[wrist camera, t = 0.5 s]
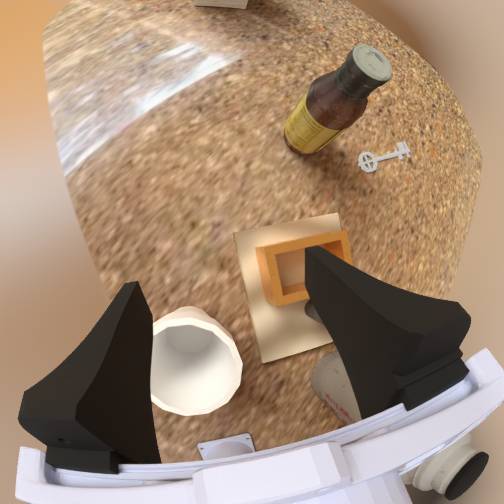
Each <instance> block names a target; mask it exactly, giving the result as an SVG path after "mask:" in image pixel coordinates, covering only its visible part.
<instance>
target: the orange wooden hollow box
mask: <svg viewBox="0 0 504 504" xmlns="http://www.w3.org/2000/svg"><path fill="white" fill-rule="evenodd" d="M320 244H324V249H326V250H327V251H329V252H330V253H332V254H334V255H335V256H337V257H339V258H340V259H342V260H343V261H345V262H347V263H348V264H350V265H352V266H353V262H352V256H351V250H350V245H349V239H348V234H347V229H346V230H339V231H331V232H325V233H321V234H316V235H311V236H307V237H302V238H297V239H292V240H288V241H283V242H278V243H273V244H269V245H264V246H259V247H255V252H256V257H257V262H258V267H259V272H260V277H261V282H262V286H263V291H264V296H265V300H267V301H268V302H270V303H271V304H272V305H274V306H275V307H278V306H282V305H286V304H289V303H293V302H297V301H300V300H304V299H308V298H310V297H309V295H308V292H307V290H306V287H305V281H304V282H300V283H296V284H292V285H288V286H284V287H281V283H280V277H279V272H278V267H277V262H276V257H275V254H279V253H284V252H288V251H293V250H297V249H302V248H306V247H311V246H315V245H320Z"/></svg>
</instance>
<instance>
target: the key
mask: <svg viewBox="0 0 504 504" xmlns="http://www.w3.org/2000/svg"><path fill="white" fill-rule="evenodd" d="M403 143H404V145H405V148H406V149H405V148H404V145H403ZM403 143H402V142H400V143H397V146H398V148H399V151H397V150H395V152H393V153H390V154H387V155H384V156H381V157H378V158H375V156H374V155H373V154H372V153H370V152H364V153H362V154H360V156H359V159H358V161H359V164H358V166H361V169H362V170H364V171H365V172H367V173H368V172H372V171H374V170H376V168H377V165H378V163H377V161H380V160H384V159H388V158H392V157H396V156H398V157H399V159H400V160H401V159H403V157H402V154H407V157H410V156H409V152H410V149H408V147H407V145H406V143H405V141H404V142H403ZM366 155H368V156H370V157H371V158H372V160H370V161H368V159H367V156H366ZM363 156H364V157H365V159H366V161H367V162H363ZM370 162H373V163H374V166H373V169H371V166H370V164H369V163H370ZM365 164H368V166H369V169H368V168H367V167H365Z"/></svg>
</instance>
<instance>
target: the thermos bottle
mask: <svg viewBox="0 0 504 504" xmlns="http://www.w3.org/2000/svg"><path fill="white" fill-rule="evenodd" d="M311 385H312V388H313V390H314V391H315V393H316V394H317V395H318V396H319V397H320V398H321V399H322V400H323V402H324V403H325V404H326V405H327V406H328V407H329V408H330V409H331V410H332V411H333V413H334V414H335V415H336V416H337V417H338V418H339V419H340V420H341V421H342V422H343V423H344V424H345V425H346V426H348V425H351V424H354V423H356V422H359V421H361V420H362V418H361V415H360V411H359V408H358V404H357V401H356V398H355V395H354V392H353V389H352V386H351V383H350V380H349V378H348V375H347V372H346V370H345V367H344V364H343V362H342V359H341V357H340V355H339V352H338V351H334V352H331V353H329V354H327V355H325V356H324V357H323V358H322V359H321V360H320V361H319V362H318V363H317V364H316V366H315V368H314V370H313V372H312V376H311ZM471 440H472V438H471V435H470V433H469V432H468V433H467V434H465V435H464V436H463V437H461V438H460V439H458V440H457V441H456V442H454V443H453V444H451V445H450V446H448V447H447V448H445V449H444V450H442V451H441V452H439V453H438V454H436V455H435V456H433V457H432V458H430V459H428V460H427V461H425V462H423V463H422V464H420V465H418V466H417V467H415V468H413V469H411V470H410V471H408V472H406V473H404V474H402V475H400V477H401V479H402V481H403V483H404V484H413V486H414V487H416V488H419V489H420V490H422V491H427V490H430V489H433V488H434V489H435V490H436V491H438V492H439V493H441V494H444V496H445V497H446V498H447V499H448V500H454V499H456V498H458V497H459V496H461V495H462V494H463V493H464V492H465V491H466V490H468V488H470V486H472V484H473V483H474V482H475V481H476V480H477V478H478V477H479V476H480V475H481V473H482V472H483V470H484V468H485V466H486V464H487V462H488V459H489V455H488V454H486V453H485V452H478V450H477V449H476V448H474V447H473V446H471Z"/></svg>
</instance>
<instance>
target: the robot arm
mask: <svg viewBox="0 0 504 504" xmlns="http://www.w3.org/2000/svg"><path fill="white" fill-rule="evenodd" d="M305 287H306V290H307V292H308V295H309V297H310V300H311V302H312V304H313V306H314V308H315V310H316V311H317V313H318V315H319V317H320V319H321V320H322V322H323V324H324V326H325V327H326V329H327V331H328V333H329V334H330V336H331V338H332V340H333V342H334V344H335V346H336V348H337V350H338V352H339V355H340V357H341V359H342V362H343V364H344V367H345V370H346V372H347V375H348V378H349V380H350V383H351V386H352V389H353V392H354V395H355V398H356V401H357V404H358V408H359V411H360V415H361V418H362V420H361V421H359V422H356V423H354V424H351V425H348V426H346V427H343V428H340V429H337V430H334V431H331V432H328V433H325V434H322V435H319V436H316V437H313V438H309V439H306V440H302V441H299V442H295V443H291V444H288V445H284V446H280V447H275V448H271V449H267V450H262V451H258V452H255V449H254V446H253V443H252V439H251V436H250V434H249V433H245V434H241V435H236V436H232V437H228V438H223V439H218V440H213V441H208V442H203V443H199V444H198V448H199V451H200V453H201V455H202V458H203V460H202V461H192V462H181V463H168V464H162V463H161V458H160V454H159V450H158V445H157V439H156V434H155V428H154V421H153V412H152V403H151V390H150V377H151V361H152V348H153V316H152V313H151V311H150V309H149V306H148V304H147V302H146V300H145V297H144V295H143V292H142V290H141V288H140V285H139V283H138V281H135V282H130V283H125V284H124V285H123V287H122V288H121V289H120V291H119V292H118V294H117V295H116V296H115V298H114V299H113V301H112V302H111V304H110V305H109V307H108V308H107V310H106V311H105V313H104V314H103V316H102V317H101V318H100V320H99V321H98V322H97V324H96V325H95V326H94V328H93V329H92V330H91V332H90V333H89V334H88V335H87V337H86V338H85V339H84V340H83V342H81V344H80V345H79V346H78V347H77V348H76V349H75V350H74V351H73V352H72V353H71V354H70V355H69V356H68V357H67V358H66V359H65V360H64V361H63V362H62V363H61V364H60V365H59V366H58V367H57V368H56V369H55V370H53V371H52V372H51V373H50V374H49V375H47V376H46V377H45V378H43V379H42V380H41V381H39V382H38V383H37V384H35V385H34V386H32V387H31V388H30V389H28V390H26V391H25V392H24V395H23V399H22V402H21V407H20V411H19V415H18V421H19V423H20V425H21V426H22V427H23V428H24V429H25V430H26V431H27V432H28V433H30V434H31V435H33V436H34V437H35V438H37V439H38V440H39V441H41V442H42V443H44V444H45V445H47V451H46V452H45V451H42V450H39V449H34V448H28V447H24V446H21V447H20V453H19V461H18V468H17V479H16V493H15V497H16V498H17V499H19V500H21V501H23V502H26V503H28V504H412V501H411V499H410V497H409V495H408V492H407V490H406V488H405V486H404V483H403V481H402V479H401V477H400V475H402V474H404V473H406V472H408V471H410V470H411V469H413V468H415V467H417V466H418V465H420V464H422V463H423V462H425V461H427V460H428V459H430V458H432V457H433V456H435V455H436V454H438V453H439V452H441V451H442V450H444V449H445V448H447V447H448V446H450V445H451V444H453V443H454V442H456V441H457V440H458V439H460V438H461V437H463V436H464V435H465V434H467V433H468V432H469V431H470V430H472V429H473V428H475V427H476V426H477V425H478V424H480V423H481V422H482V421H484V420H485V419H486V418H487V417H488V416H489V415H490V414H491V413H492V412H493V411H494V410H496V409H497V408H498V407H499V405H501V404H502V403H503V402H504V370H503V369H502V367H501V366H500V365H499V363H498V362H497V361H496V359H495V358H494V357H493V356H492V354H491V353H490V352H489V350H488V349H487V348H483V349H482V350H480V351H479V352H478V353H476V354H474V355H473V356H471V357H470V358H469V359H468V360H466V361H465V363H464V362H463V361H462V359H461V357H462V355H463V353H462V352H461V350H460V349H459V346H460V345H461V343H462V341H463V339H464V338H465V336H466V334H467V332H468V330H469V328H470V324H471V317H470V315H469V314H468V313H467V312H466V311H465V310H464V309H463V308H462V307H461V305H460V304H459V303H458V302H454V301H448V300H441V299H436V298H431V297H427V296H423V295H419V294H416V293H412V292H409V291H406V290H403V289H400V288H397V287H395V286H392V285H390V284H388V283H385V282H383V281H381V280H378V279H376V278H374V277H372V276H370V275H368V274H366V273H364V272H362V271H361V270H359V269H357V268H355V267H354V266H352V265H350V264H348V263H347V262H345V261H343V260H342V259H340V258H339V257H337V256H335V255H334V254H332V253H330V252H329V251H327V250H326V249H324V248H322V247H320V246H319V245H316V246H311V247H306V248H305ZM247 438H249V439H247ZM201 448H203V449H201Z"/></svg>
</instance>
